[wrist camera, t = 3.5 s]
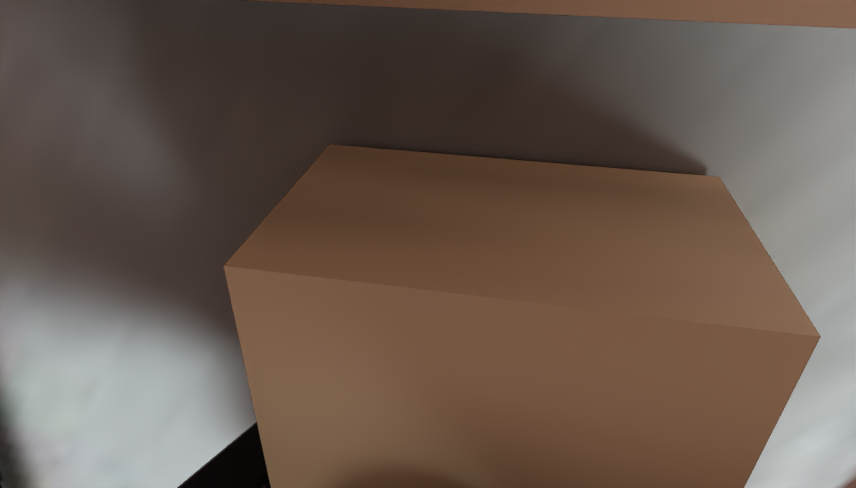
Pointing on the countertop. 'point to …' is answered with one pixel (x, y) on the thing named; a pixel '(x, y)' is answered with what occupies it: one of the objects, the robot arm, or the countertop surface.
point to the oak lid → (511, 327)
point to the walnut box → (649, 9)
